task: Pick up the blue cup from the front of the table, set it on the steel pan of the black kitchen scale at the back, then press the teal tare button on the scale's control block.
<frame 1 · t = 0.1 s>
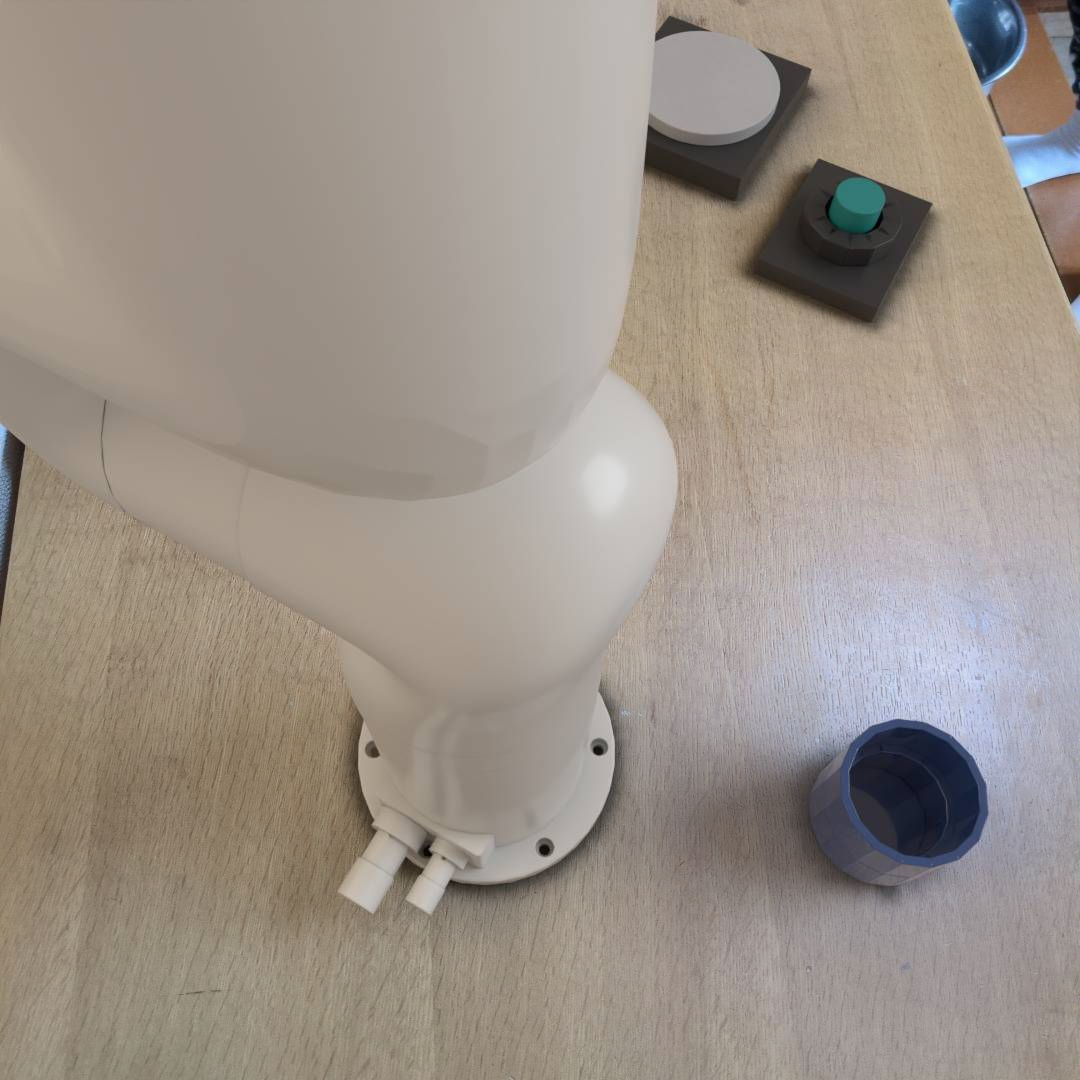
tare button: (856, 205, 64), point 4 cm above the table, slide at 0.1 cm
scale: (698, 117, 72), on the table
blue cup: (872, 818, 50), on the table
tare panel: (840, 245, 67), on the table
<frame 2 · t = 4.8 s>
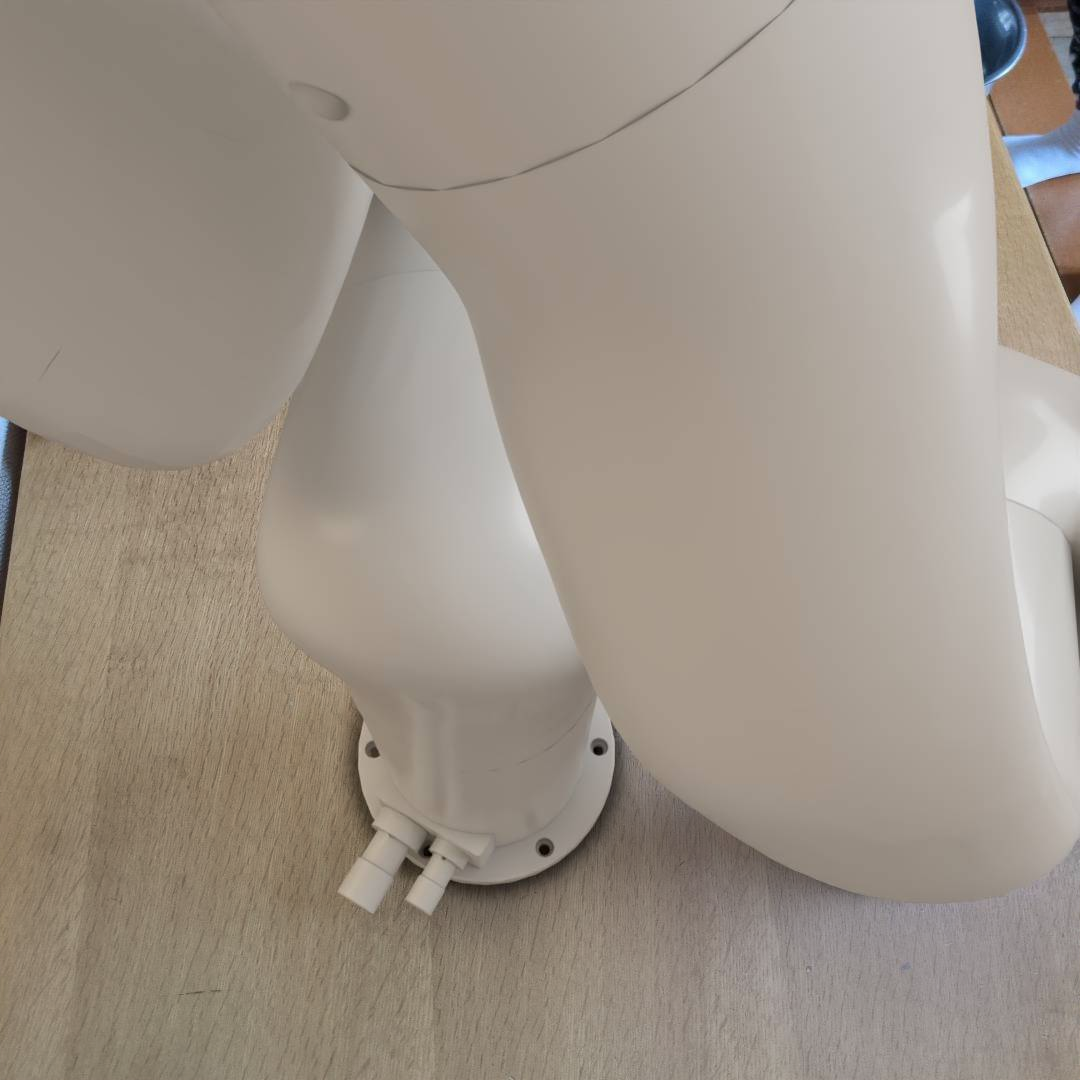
hand: (879, 814, 49), 1 cm above the table, tool pointing down, fingers closed on blue cup, 6 cm apart
blue cup: (872, 818, 50), on the table, touching gripper
everything else where it was.
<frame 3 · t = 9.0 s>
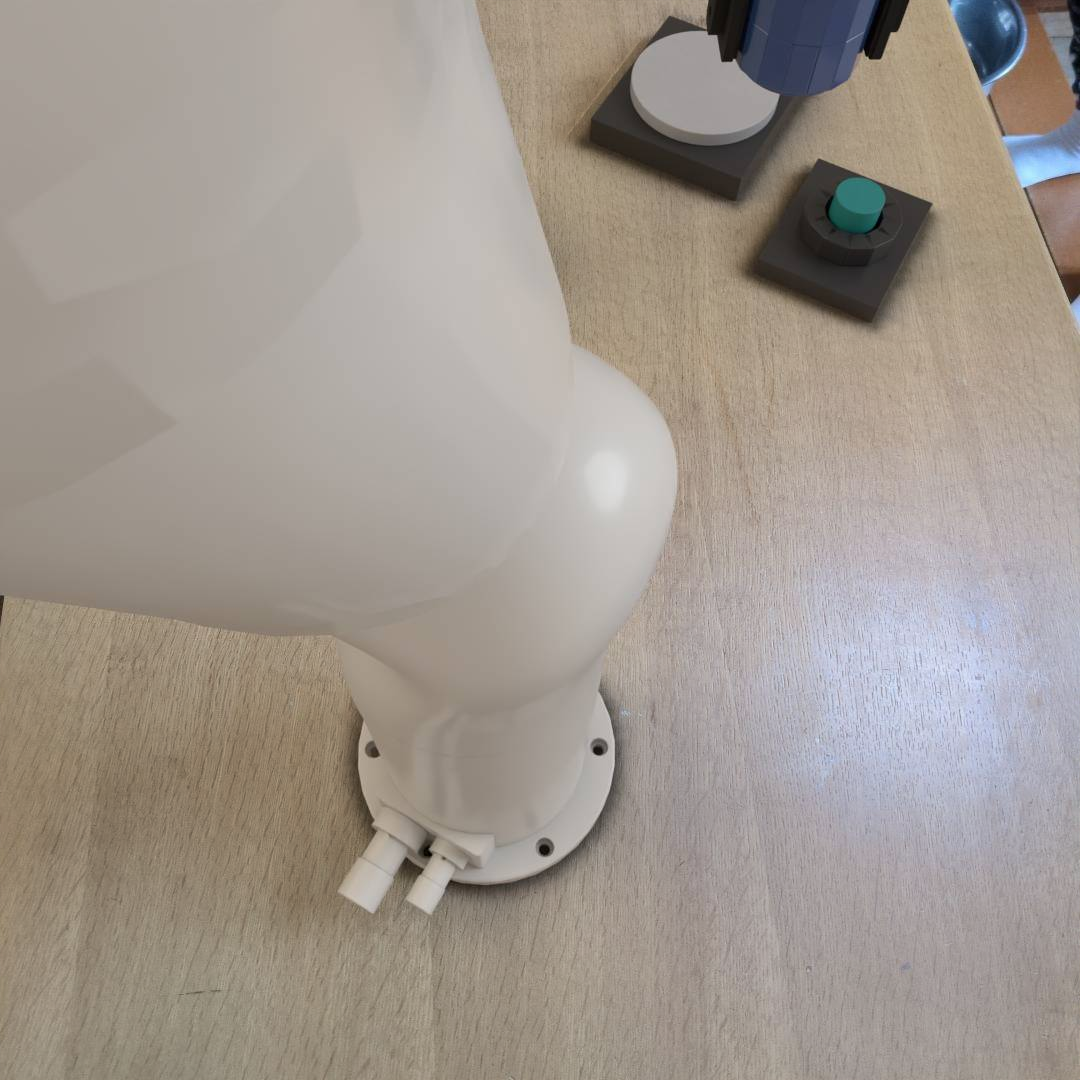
hand: (797, 39, 52), 16 cm above the table, tool pointing down, fingers closed on blue cup, 6 cm apart
blue cup: (792, 58, 53), point 15 cm above the table, touching gripper
everything else where it was.
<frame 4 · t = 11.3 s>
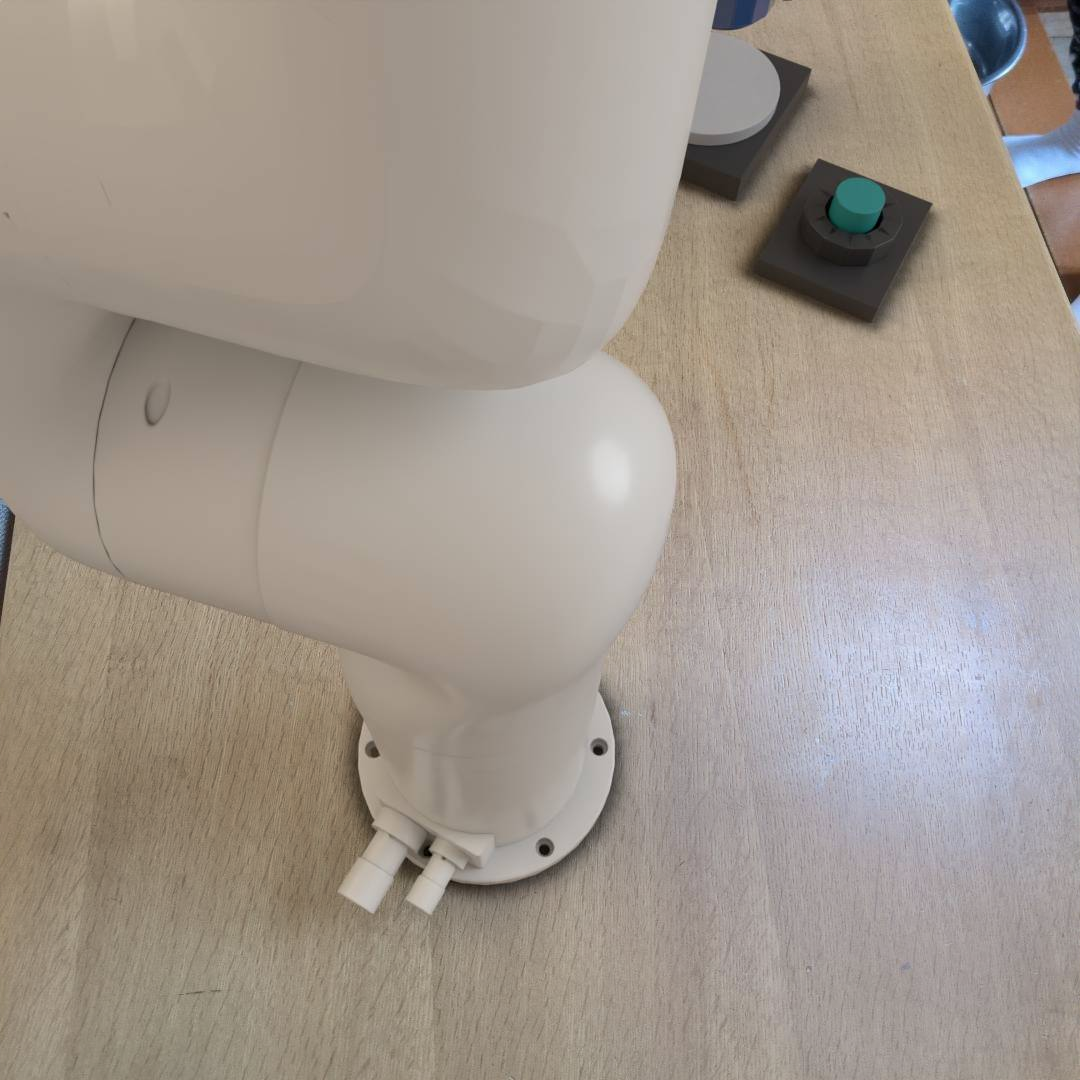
blue cup: (721, 0, 64), point 9 cm above the table, touching gripper
everything else where it was.
when the fingers open (4 cm above the table, at t = 13.3 s): blue cup stays where it is, resting on scale.
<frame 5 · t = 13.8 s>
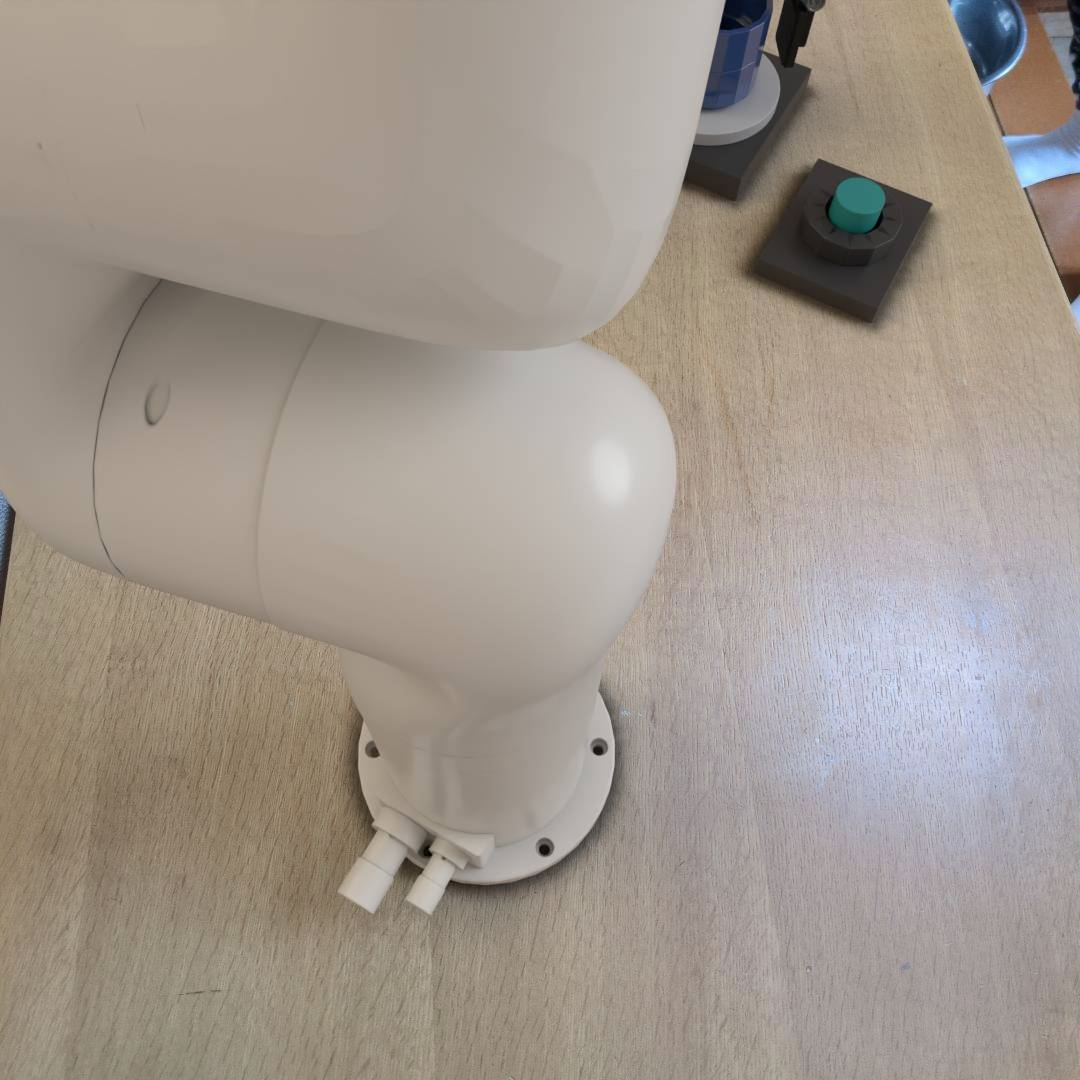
hand: (710, 55, 67), 5 cm above the table, tool pointing down, fingers open, 9 cm apart
blue cup: (705, 80, 69), point 3 cm above the table, touching scale
everything else where it was.
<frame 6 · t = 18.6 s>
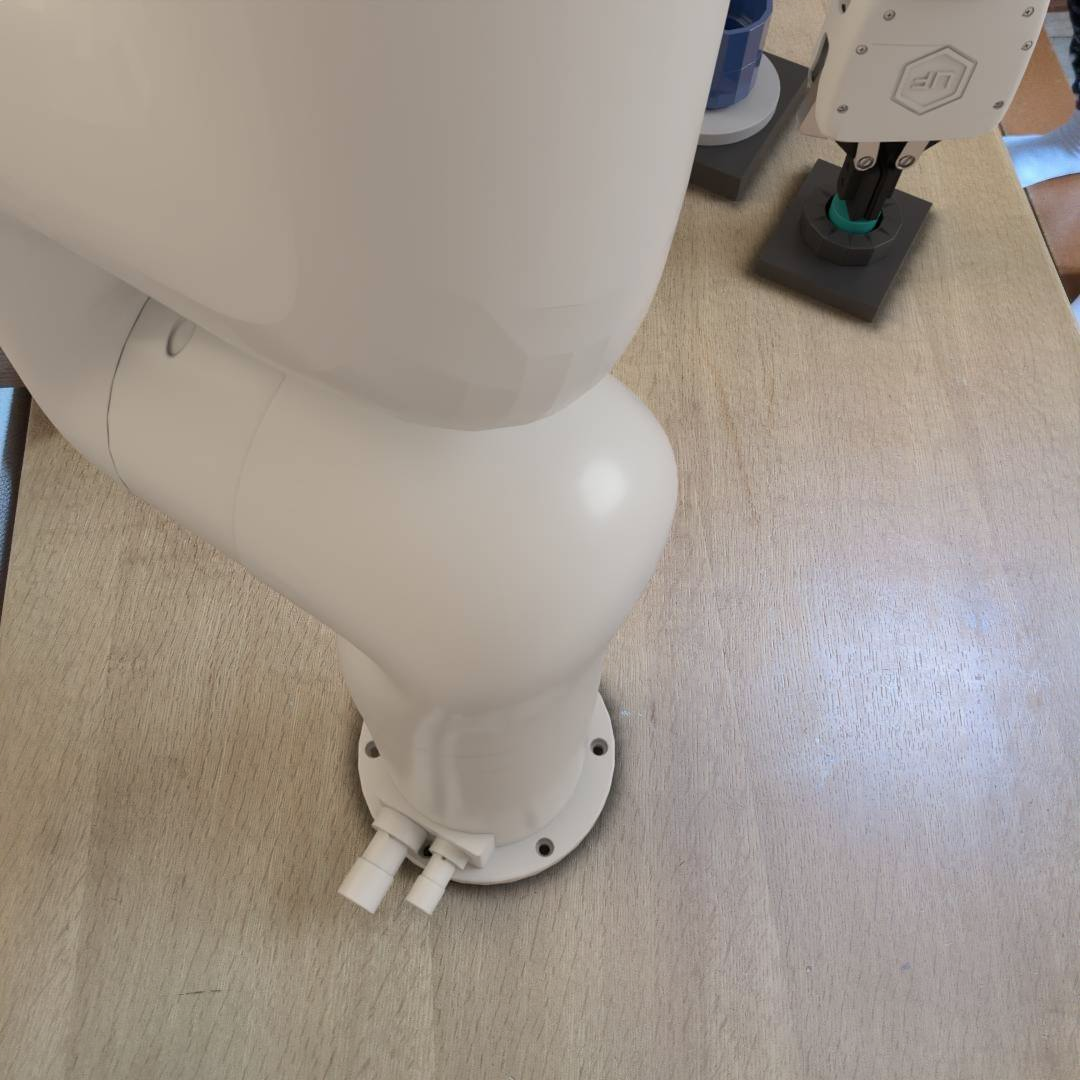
hand: (858, 203, 64), 4 cm above the table, tool pointing down, fingers closed
tare button: (852, 215, 64), point 3 cm above the table, slide at -0.7 cm, touching gripper
everything else where it was.
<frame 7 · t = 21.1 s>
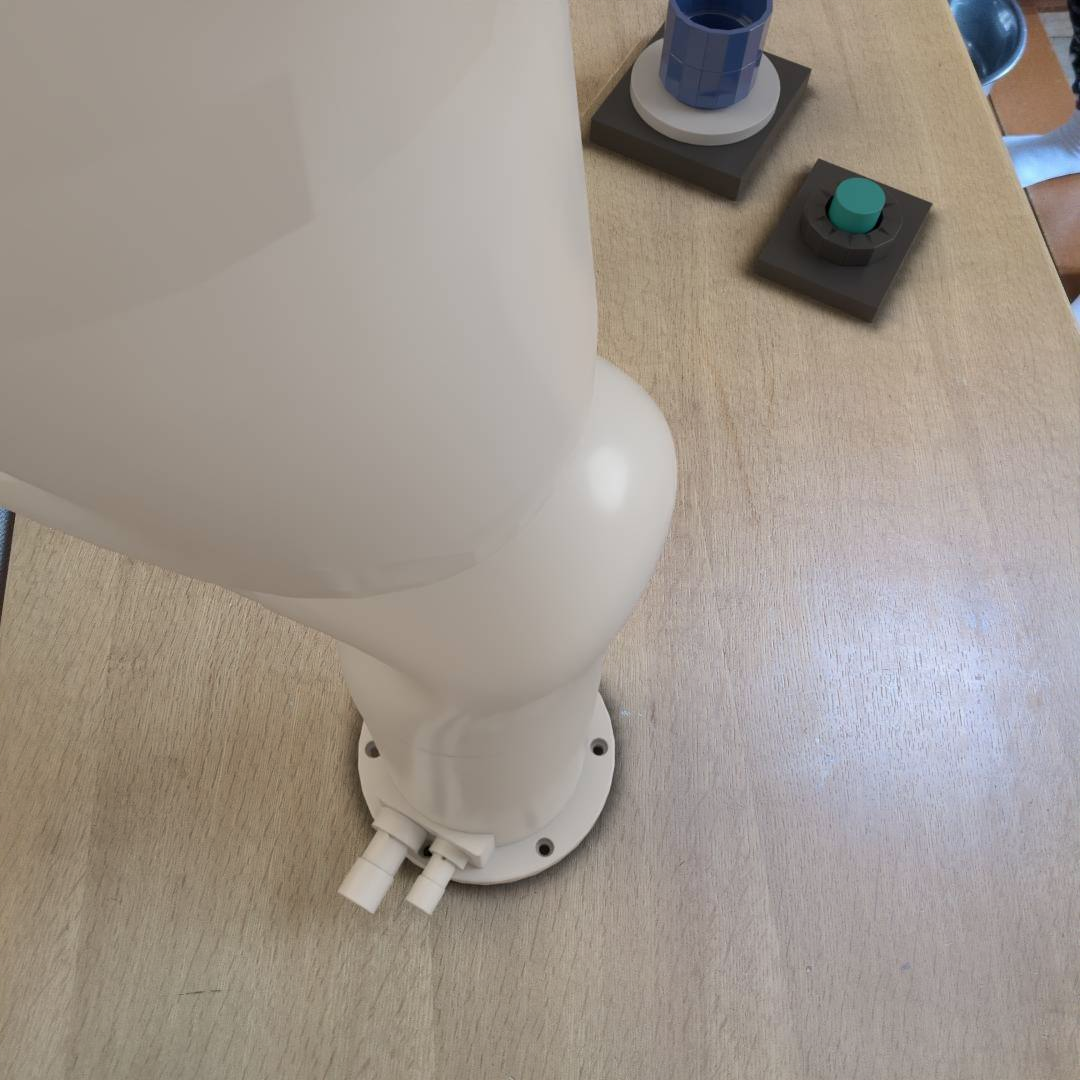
tare button: (856, 206, 64), point 3 cm above the table, slide at 0.1 cm
everything else where it was.
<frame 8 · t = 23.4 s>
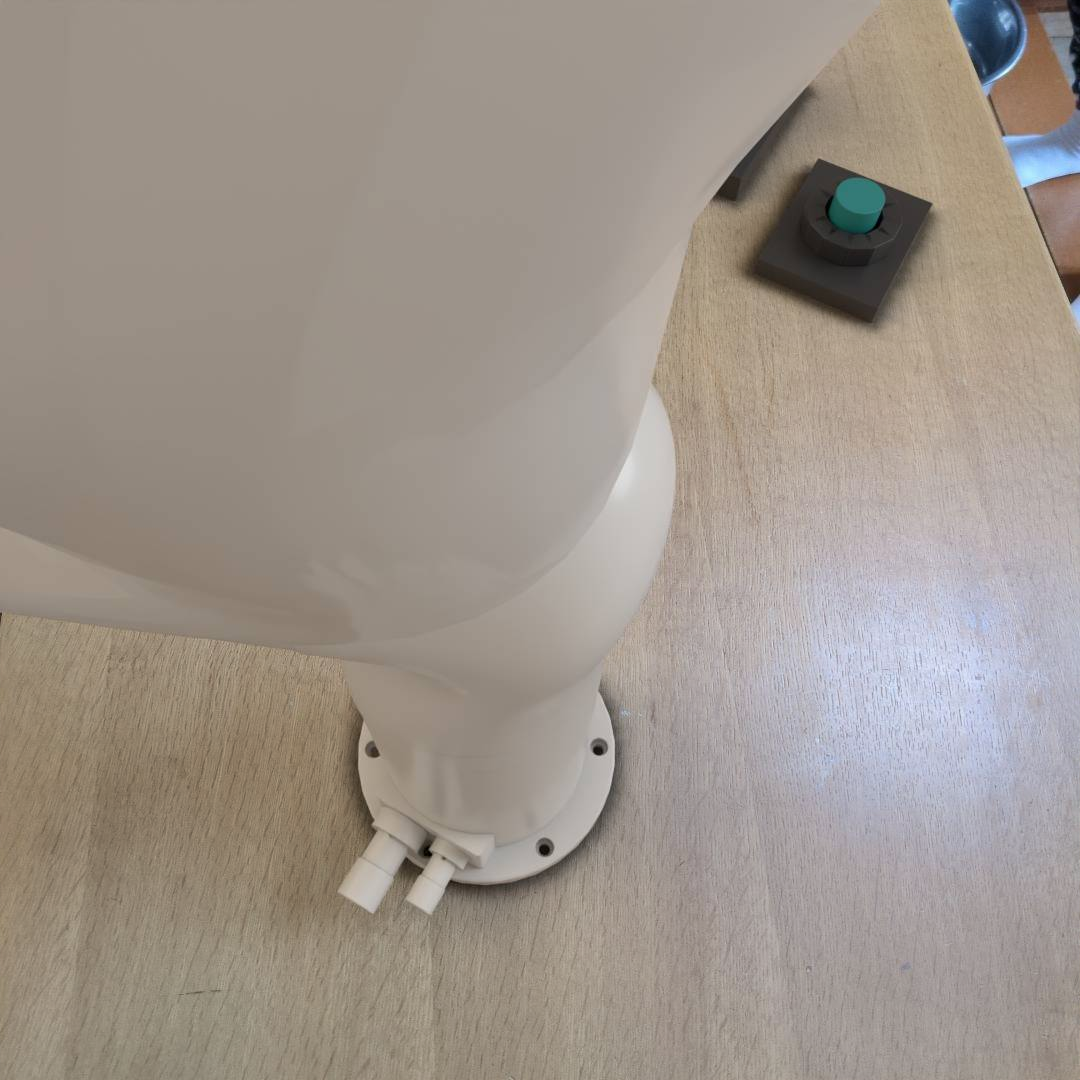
nothing on the table moved.
at the end: blue cup inside the target area on the scale (0.0 cm from its centre), point 3.0 cm above the scale's base; tare button pushed in 0.9 cm at the most during the clip, back to where it started at the end; tare button slide at 0.1 cm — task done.
